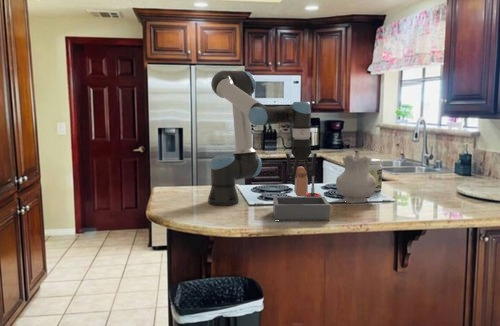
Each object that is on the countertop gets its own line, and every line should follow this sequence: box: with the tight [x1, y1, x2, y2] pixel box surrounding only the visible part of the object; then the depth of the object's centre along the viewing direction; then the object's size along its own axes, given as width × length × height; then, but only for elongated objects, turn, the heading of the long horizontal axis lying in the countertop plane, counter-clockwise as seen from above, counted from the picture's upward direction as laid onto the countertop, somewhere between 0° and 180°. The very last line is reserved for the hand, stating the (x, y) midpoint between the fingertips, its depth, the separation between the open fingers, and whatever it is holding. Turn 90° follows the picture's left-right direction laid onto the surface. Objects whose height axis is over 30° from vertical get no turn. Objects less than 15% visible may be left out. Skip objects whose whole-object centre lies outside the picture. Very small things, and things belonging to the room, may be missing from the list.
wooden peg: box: [295, 166, 307, 197], centre depth 184 cm, size 4×6×12 cm, turn 179°
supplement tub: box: [368, 158, 383, 192], centre depth 237 cm, size 12×12×17 cm
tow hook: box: [305, 176, 322, 197], centre depth 223 cm, size 8×13×9 cm
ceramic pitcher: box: [335, 148, 376, 204], centre depth 213 cm, size 22×20×25 cm
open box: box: [272, 196, 331, 222], centre depth 186 cm, size 23×15×7 cm, turn 89°
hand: (300, 192), depth 185 cm, fingers closed on wooden peg, 4 cm apart
